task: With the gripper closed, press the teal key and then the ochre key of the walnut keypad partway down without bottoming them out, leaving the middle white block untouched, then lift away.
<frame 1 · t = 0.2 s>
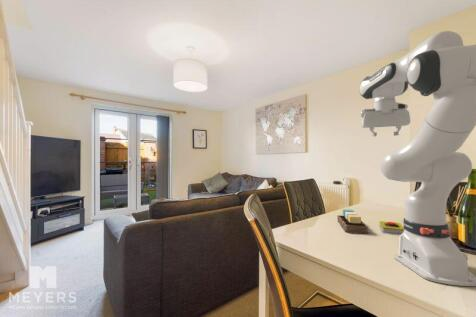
hand: (385, 135, 107), 47 cm above the table, tool pointing down, fingers open, 8 cm apart
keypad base: (351, 226, 117), on the table
emergency button: (391, 231, 110), on the table
white block: (351, 216, 117), point 5 cm above the table, slide at 0.0 cm
ochre key: (354, 219, 111), point 5 cm above the table, slide at 0.0 cm
teal key: (348, 213, 122), point 5 cm above the table, slide at 0.0 cm
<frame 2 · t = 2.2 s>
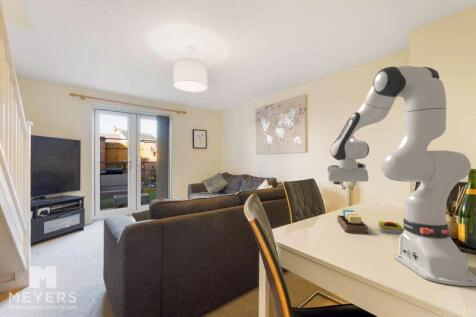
hand: (347, 189, 122), 19 cm above the table, tool pointing down, fingers open, 3 cm apart
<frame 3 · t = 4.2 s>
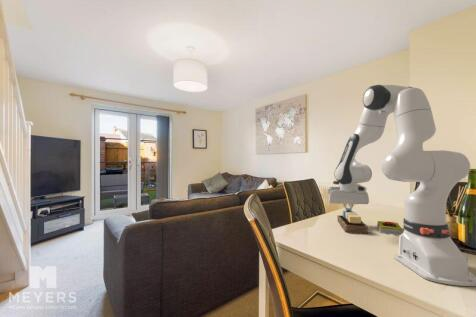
hand: (348, 211, 122), 7 cm above the table, tool pointing down, fingers closed, pressing on teal key
teal key: (348, 215, 122), point 5 cm above the table, slide at 0.7 cm, touching gripper
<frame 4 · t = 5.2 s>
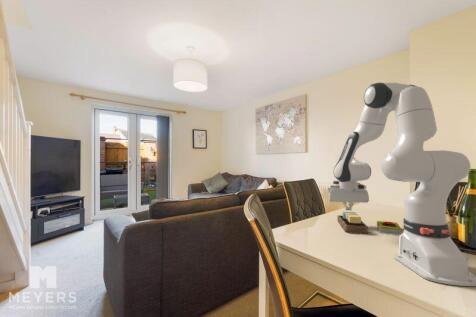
hand: (348, 210, 122), 8 cm above the table, tool pointing down, fingers closed
teal key: (348, 216, 122), point 4 cm above the table, slide at 1.5 cm
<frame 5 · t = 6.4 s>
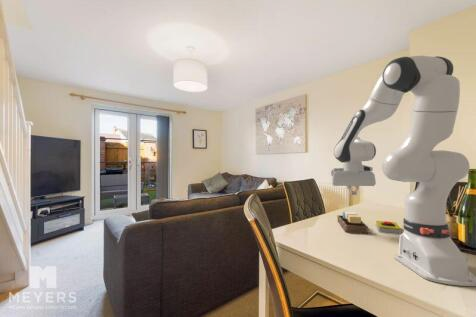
hand: (353, 194, 113), 18 cm above the table, tool pointing down, fingers closed
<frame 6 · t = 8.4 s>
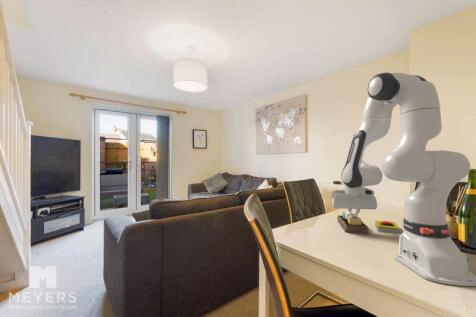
hand: (354, 217, 111), 7 cm above the table, tool pointing down, fingers closed, pressing on ochre key
ochre key: (354, 221, 111), point 5 cm above the table, slide at 0.8 cm, touching gripper
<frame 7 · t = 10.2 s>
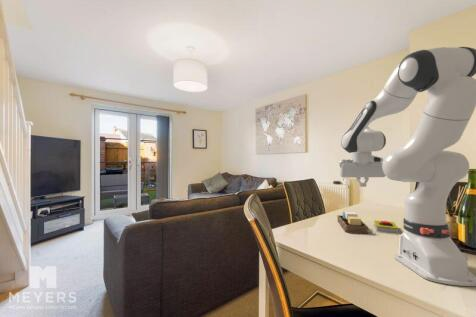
hand: (362, 186, 110), 22 cm above the table, tool pointing down, fingers closed
ochre key: (354, 221, 111), point 4 cm above the table, slide at 0.9 cm
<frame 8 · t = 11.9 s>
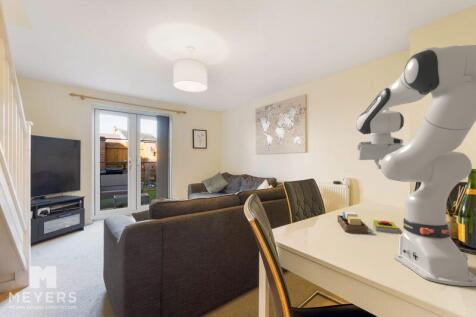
hand: (381, 168, 109), 31 cm above the table, tool pointing down, fingers closed
at the end: teal key slide at 1.5 cm; ochre key slide at 0.9 cm; white block slide at 0.0 cm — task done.
